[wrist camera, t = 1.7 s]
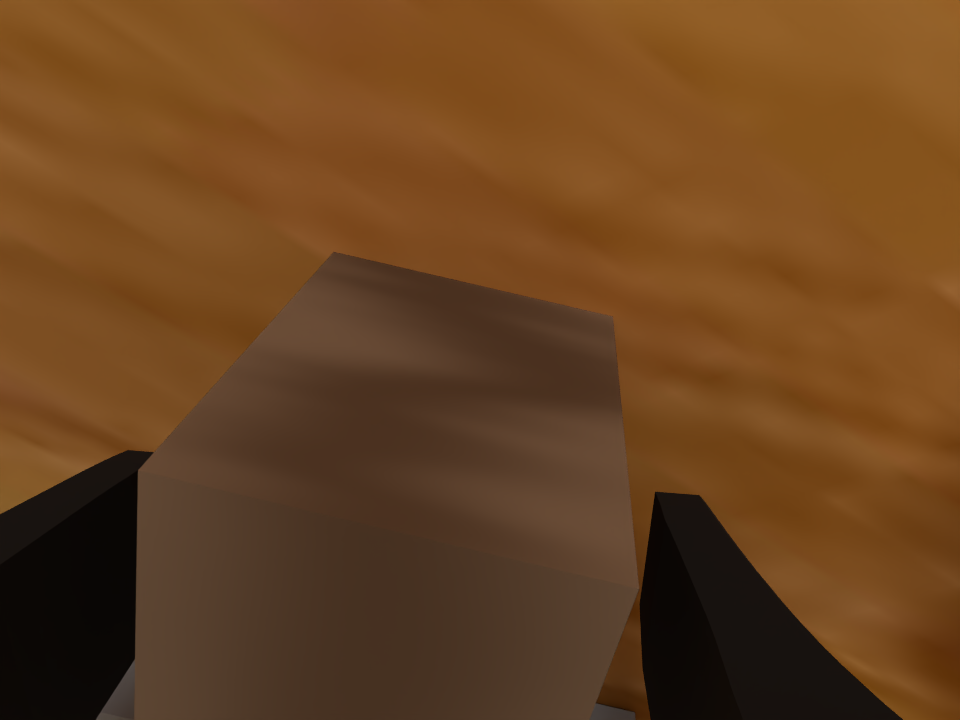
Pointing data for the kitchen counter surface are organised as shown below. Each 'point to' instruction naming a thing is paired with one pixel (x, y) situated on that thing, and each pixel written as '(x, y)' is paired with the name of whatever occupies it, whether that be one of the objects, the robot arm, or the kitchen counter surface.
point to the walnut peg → (391, 513)
